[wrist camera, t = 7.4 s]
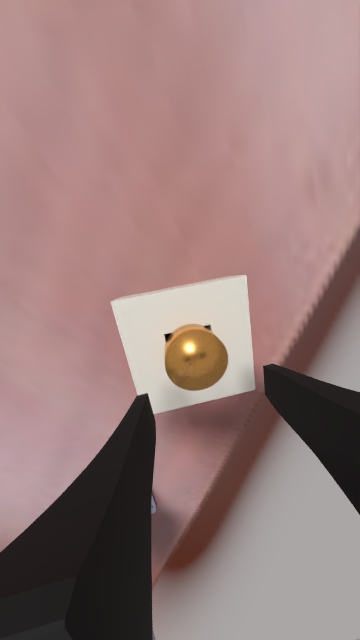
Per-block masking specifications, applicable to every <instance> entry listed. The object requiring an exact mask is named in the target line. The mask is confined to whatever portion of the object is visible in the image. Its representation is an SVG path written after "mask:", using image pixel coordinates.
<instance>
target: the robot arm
mask: <svg viewBox="0 0 360 640" xmlns="http://www.w3.org/2000/svg"><path fill="white" fill-rule="evenodd" d="M263 369H264V385H265V395H266V396H267V398H268V399H269V401H270V402H271V404H272V405H273V406H274V408H275V409H276V410H277V411H278V413H279V414H280V415H281V416H282V417H283V418H284V420H285V421H286V422H287V423H288V424H289V425H290V426H291V427H292V429H293V430H294V431H295V432H296V433H297V434H298V435H299V436H300V437H301V439H302V440H303V441H304V442H305V443H306V444H307V445H308V446H309V448H310V449H311V450H312V451H313V453H315V455H316V456H317V457H318V459H319V460H320V461H321V463H322V464H323V465H324V467H325V468H326V469H327V471H328V472H329V473H330V474H331V476H332V477H333V478H334V480H335V481H336V483H337V484H338V485H339V486H340V488H341V489H342V491H343V492H344V493H345V495H346V496H347V498H348V499H349V500H350V502H351V503H352V504H353V506H354V507H355V509H356V510H357V512H358V513H359V514H360V392H356V391H353V390H349V389H345V388H342V387H339V386H336V385H333V384H329V383H326V382H323V381H320V380H317V379H314V378H312V377H308V376H306V375H303V374H300V373H298V372H295V371H292V370H289V369H287V368H284V367H281V366H278V365H275V364H270V365H266V366H263ZM155 445H156V426H155V418H154V414H153V410H152V407H151V403H150V399H149V396H148V393H145V394H141V395H137V397H136V398H135V400H134V402H133V403H132V405H131V407H130V408H129V410H128V411H127V413H126V415H125V416H124V418H123V419H122V421H121V422H120V424H119V425H118V427H117V428H116V430H115V431H114V433H113V434H112V435H111V437H110V438H109V440H108V441H107V442H106V444H105V445H104V446H103V448H102V449H101V450H100V452H99V453H98V454H97V455H96V457H95V458H94V459H93V460H92V461H91V463H90V464H89V465H88V466H87V467H86V468H85V470H84V471H83V472H82V473H81V474H80V475H79V476H78V477H77V478H76V479H75V480H74V482H73V483H72V484H71V485H70V486H69V487H68V488H67V489H66V490H65V491H64V492H63V493H62V495H61V496H60V497H59V498H58V499H57V500H56V501H55V502H54V503H53V504H52V505H51V506H50V507H49V508H48V509H47V510H46V511H45V512H44V513H42V514H41V515H40V516H39V517H38V518H37V519H36V520H35V521H34V522H33V523H32V524H31V525H30V526H29V527H28V528H27V529H26V530H25V531H24V532H23V533H21V534H20V535H19V536H18V537H17V538H16V539H15V540H14V541H13V542H11V543H10V544H9V545H8V546H7V547H6V548H5V549H4V550H3V551H1V552H0V640H155V636H154V633H153V630H152V576H151V514H153V513H155V512H156V505H155V502H154V499H153V496H152V483H153V470H154V458H155ZM357 640H360V639H357Z"/></svg>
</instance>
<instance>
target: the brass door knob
mask: <svg viewBox="0 0 360 640" xmlns="http://www.w3.org/2000/svg"><path fill="white" fill-rule="evenodd" d="M164 355H165V369H166V373H167V375H168V377H169V379H170V380H171V381H172V382H173V383H174V384H175V385H176V386H178V387H180V388H182V389H185V390H189V391H199V390H203V389H207V388H209V387H211V386H213V385H214V384H215V383H217V382H218V381H219V380H220V379H221V378H222V376H223V375H224V373H225V371H226V369H227V365H228V353H227V350H226V348H225V346H224V344H223V343H222V342H221V341H220V340H219V338H218V337H217V336H216V335H215V334H214V333H213V332H212V331H211V330H210V329H208V328H207V327H205V326H202V325H199V324H187V325H183V326H181V327H179V328H177V329H176V330H174V331H173V332H172V333H171V334H170V336H169V337H168V339H167V341H166V343H165V348H164Z"/></svg>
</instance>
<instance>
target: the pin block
mask: <svg viewBox="0 0 360 640" xmlns="http://www.w3.org/2000/svg"><path fill="white" fill-rule="evenodd" d="M111 305H112V309H113V312H114V315H115V319H116V322H117V326H118V329H119V333H120V336H121V339H122V343H123V346H124V350H125V353H126V357H127V360H128V363H129V367H130V370H131V374H132V377H133V381H134V384H135V387H136V391H137V394H138V395H141V394H145V393H148V396H149V399H150V403H151V407H152V410H153V414H157V413H161V412H165V411H169V410H173V409H177V408H182V407H186V406H190V405H194V404H198V403H202V402H207V401H211V400H215V399H219V398H223V397H227V396H232V395H236V394H240V393H244V392H248V391H252V390H255V377H254V365H253V353H252V340H251V328H250V315H249V303H248V290H247V278H246V275H240V276H228V277H223V278H217V279H212V280H207V281H202V282H197V283H192V284H187V285H181V286H176V287H171V288H166V289H161V290H156V291H151V292H145V293H140V294H135V295H130V296H125V297H120V298H118V299H115V300H113V301H111ZM187 324H199V325H202V326H205V327H207V328H208V329H210V330H211V331H212V332H213V333H214V334H215V335H216V336H217V337H218V338H219V340H220V341H221V342H222V343H223V344H224V346H225V348H226V350H227V353H228V365H227V369H226V371H225V373H224V375H223V376H222V378H221V379H220V380H219V381H218V382H217V383H215V384H214V385H213V386H211V387H209V388H207V389H203V390H199V391H189V390H185V389H182V388H180V387H178V386H176V385H175V384H174V383H173V382H172V381H171V380H170V379H169V377H168V375H167V373H166V369H165V355H164V348H165V343H166V341H167V338H166V334H168V333H172V332H173V331H174V330H176V329H177V328H179V327H181V326H183V325H187Z"/></svg>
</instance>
